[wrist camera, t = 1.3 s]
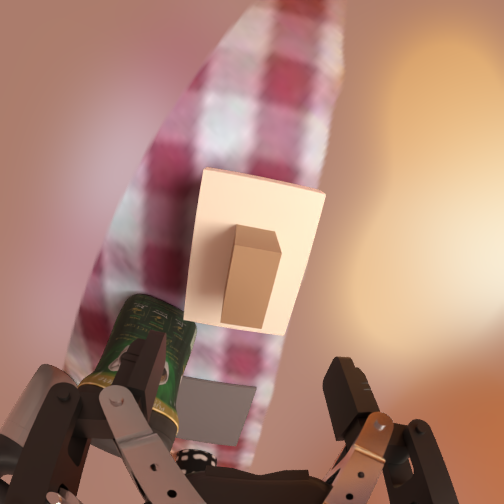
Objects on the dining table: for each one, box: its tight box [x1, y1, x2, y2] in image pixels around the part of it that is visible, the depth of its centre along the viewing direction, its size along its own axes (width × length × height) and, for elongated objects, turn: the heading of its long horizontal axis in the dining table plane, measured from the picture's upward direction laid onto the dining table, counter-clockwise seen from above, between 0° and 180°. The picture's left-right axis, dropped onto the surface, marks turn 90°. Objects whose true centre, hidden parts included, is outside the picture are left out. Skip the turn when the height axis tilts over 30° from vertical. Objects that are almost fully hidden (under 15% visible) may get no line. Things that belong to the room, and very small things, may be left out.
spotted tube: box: [176, 449, 217, 475], centre depth 38 cm, size 8×8×20 cm
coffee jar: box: [77, 294, 197, 458], centre depth 25 cm, size 10×8×19 cm
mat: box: [176, 376, 256, 446], centre depth 40 cm, size 18×15×1 cm
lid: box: [183, 167, 326, 336], centre depth 22 cm, size 13×9×6 cm
